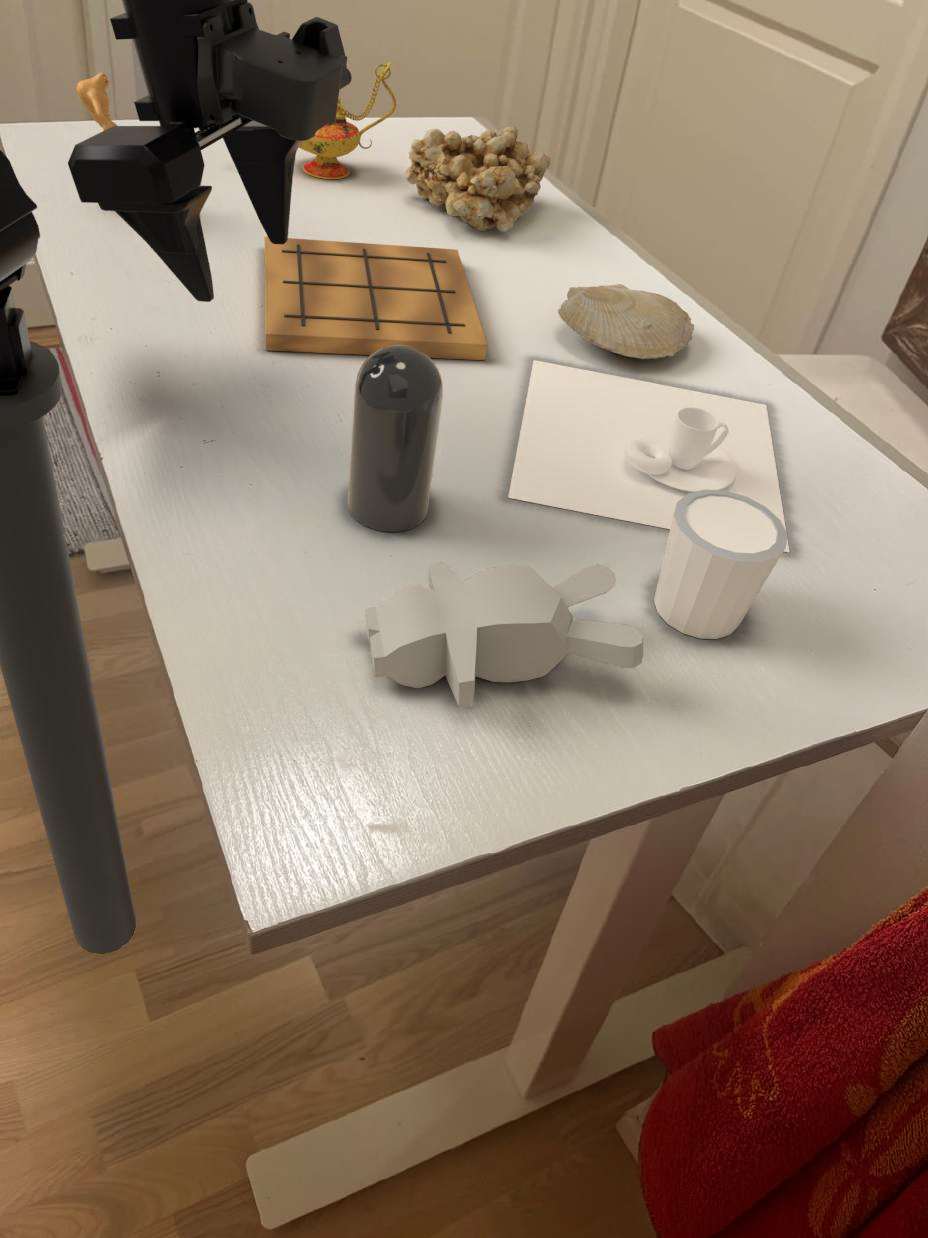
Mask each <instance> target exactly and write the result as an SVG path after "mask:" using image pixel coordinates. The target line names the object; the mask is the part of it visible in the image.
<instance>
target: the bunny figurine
mask: <svg viewBox="0 0 928 1238" xmlns="http://www.w3.org/2000/svg"><path fill="white" fill-rule="evenodd" d="M616 582H617V577H616V573H615V572H614V571H613V570H612V569H611V568H610V567H609V566H607V565H604V564H600V563H595V564H592V565H589V566H587V567H585V568H583V569H581V570H580V571H577V573H575V574H573V575H571V576H569V577H568V578H565V579H564V580H562V581H561V582H559V583H558V584H555V585H554V586H551V585H550V584H549V583H548V582H547V581H546V580H545V579H544V578H543V576H541V575H540V573H538V572H537V571H536V570H535V569H534V568H533V566H531V565H530V564H509V565H502V566H495V567H492V568H489V569H485V570H481V571H479V572H478V573H476V574H474V575H473V576H471V577H469V578H468V579H466V580H464V581H463V579H461V578H460V577H459V576H458V575H456V573H455V572H453V571H452V570H451V569H450V568H449V567H448V566H447V565H446V564H445V563H444V562H443V561H439V562H437V563H433V564H429V565H428V587H426V586H422V585H418V584H415V585H405V586H402V587H400V588H398V589H396V590H394V591H393V592H391V593H389V594H388V595H387V596H386V597H385V598H383V600H381V601H380V602H379V603H378V604H377V605H376V606H373V607H367V608H364V616H365V627H366V633H367V638H368V644H369V648H370V651H371V652H370V656H371V662H372V667H373V673H374V678H377V677H388V678H389V679H390V680H393V681H394V682H396V683H398V684H400V685H401V686H405V687H409V688H413V689H421V688H425V687H429V686H432V685H433V684H435V683H437V682H438V681H439V680H441V679H442V678H444V677H445V678H446V680H447V682H448V685H449V687H450V690H451V692H452V695H453V697H454V700H455V702H456V704H457V707H465V708H468V707H469V708H473V707H474V703H475V691H476V690H475V689H476V677H477V678H480V679H482V680H486V681H489V682H492V683H515V682H516V683H517V682H525V681H530V680H534V679H538V678H542V677H545V676H546V675H547V674H549V672H550V671H552V669H554V668H555V667H556V666H557V665H558V664H559V663H560V662H561V661H562V660H563V659H564V658H565V657H567V655H568V654H570V655H571V654H572V655H575V656H578V657H581V658H585V659H588V660H592V661H595V662H598V663H602V664H605V665H608V666H612V667H616V668H619V669H635V668H636V667H638V666H639V665H641V664H642V663H643V659H644V635H643V634H642V633H641V631H640V630H638V629H637V628H636V627H635V626H630V625H627V624H622V623H614V622H613V623H611V622H601V621H588V620H577V619H574V615H573V614H572V612H571V611H570V609H569V607H572V606H574V605H577V604H580V603H583V602H586V601H589V600H591V599H595V598H596V597H599V596H602V595H604V594H607V593H608V592H610V591H611V590H612V589H613V588H614V587H615V586H616Z"/></svg>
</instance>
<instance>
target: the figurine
mask: <svg viewBox="0 0 928 1238" xmlns="http://www.w3.org/2000/svg"><path fill="white" fill-rule="evenodd" d="M108 78H109V77H108V75H107V74H106V73H104V72H101V71H100V72H98V73H97V74H96V75H95V76H93V77H91V78H86V79H82V80H80V81H79V82H78V83H76V87H75V89H76V94H77V97H78V99H79V100H80V102H81V104H82V105H83V107H85V109H86V110H87V111H88V112H89V113H90V114H91V117H93V120H94V121H95V122H96V123H97V124H98V125H99V127H100V128H102V130H103V131H105V130H107V129H109V128H111V127H113V126H118V125H117V124H116V122H114V121H113V120H112V119H111V114H110V99H109V96H108V93H107V91H106V89H107V88H108V87H109V86H110V81H109V80H108Z"/></svg>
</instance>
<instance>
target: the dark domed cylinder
mask: <svg viewBox="0 0 928 1238" xmlns="http://www.w3.org/2000/svg"><path fill="white" fill-rule="evenodd" d="M443 400H444V382H443V378H442V375H441V373H440V370H439V368H438V366H437V364H436V363H435V362H434V361H433V360H432V358H430V357H428V356H427V355H426V354H425V353H423V352H422V351H420V350H418V349H416V348H414V347H411V346H407V345H391V346H386V347H383V348H381V349H379V350H377V351H375V352H374V353H373V354H371V355H368V357H367V358H366V359H365V360H364V362H363V363H361V366H360V367H359V370H358V372H357V375H356V378H355V384H354V398H353V411H352V413H353V414H352V427H351V444H350V459H349V460H350V461H349V473H348V475H349V476H348V487H347V489H348V490H347V509H348V511H349V513H350V515H351V516H352V517H353V519H354V520H355V521H357V522H358V523H359V524H360V525H362V526H364V527H367V528H369V529H372V530H375V531H378V532H379V531H380V532H385V533H399V532H405V531H407V530H411V529H414V528H416V527H417V526H420V525H421V523H423V521H425V519H426V517H427V515H428V510H429V504H430V503H429V502H430V495H431V488H432V482H433V481H432V480H433V474H434V466H435V459H436V458H435V457H436V451H437V445H438V444H437V443H438V436H439V428H440V423H441V422H440V420H441V416H442V415H441V413H442V407H443Z"/></svg>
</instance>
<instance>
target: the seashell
mask: <svg viewBox="0 0 928 1238" xmlns="http://www.w3.org/2000/svg"><path fill="white" fill-rule="evenodd" d="M566 297H567V299H566V300H564V301H563V302H562V303H561V305H560V307H559V308H558V310H557V314H558V315H559V318H560V319H561V320H562V321H563V322H564V323H565V324H566V326H567V327H569V328H570V329H571V330H572V331H573V332H574V333H576V334H577V335H580V337H581V338H583V339H584V340H586V341H588V342H589V343H591V344H593V345H595V346H597V347H598V348H600V349H604V350H605V351H609V352H611V353H614V354H617V355H621V356H625V357H629V358H636V359H640V360H646V359H647V360H650V359H654V360H655V359H656V360H657V359H660V358H666V357H674V356H675V354H677V353H678V352H679V351H681V350H683V349H684V348H685V347H687V346H689V342H691V341H692V340H693V333H694V332H693V331H695V324H693V323H692V318H691V317H690V315H689V313H688V312H687V311H685V310H684V309H683V308H681V306H680V305H679V304H678V303H677V302H676V301H674V300H672V299H670V298H669V297H666V296H664V295H663V294H659V293H656V292H650V291H645V290H638V289H631V288H628V287H627V286H625V285H624V284H622V283H617V284H608V285H599V286H595V285H594V286H572V287H569V288H568V291H567V293H566Z"/></svg>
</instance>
